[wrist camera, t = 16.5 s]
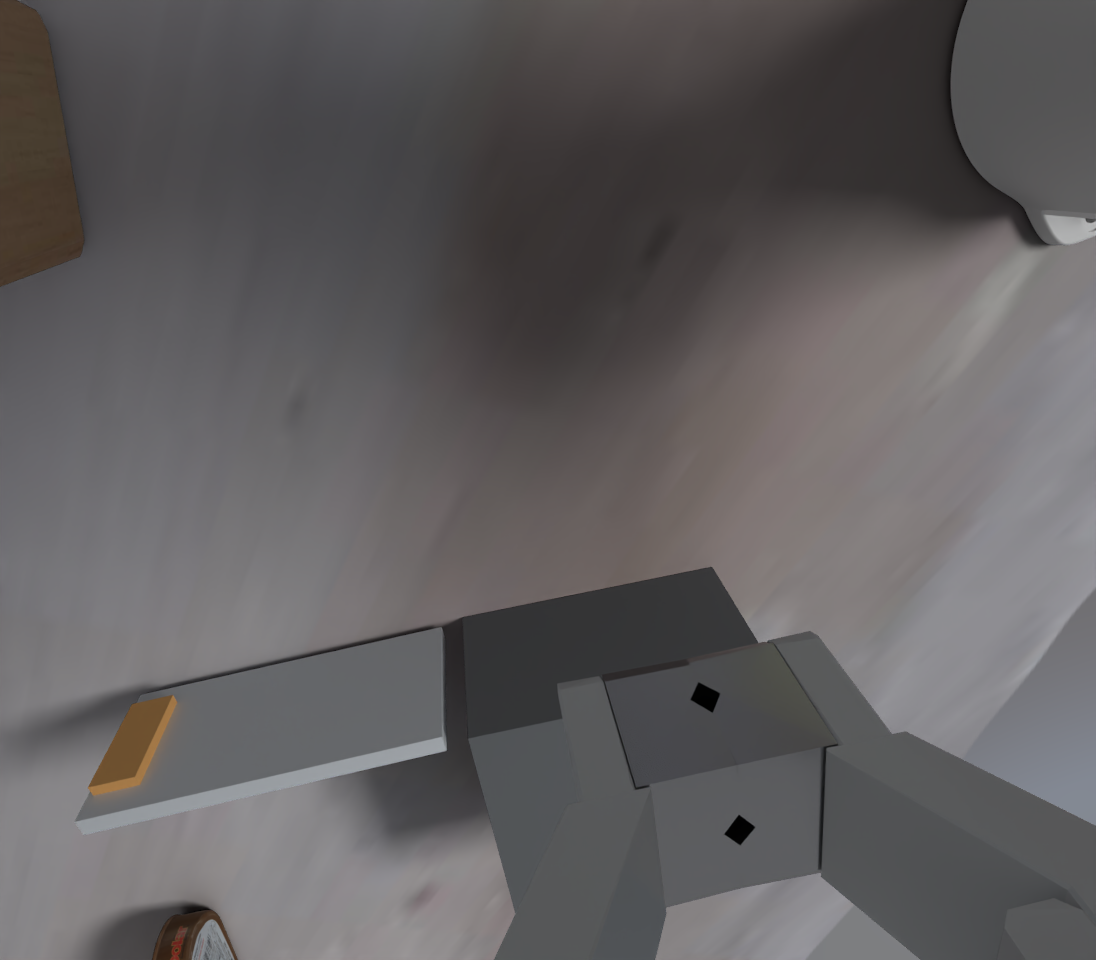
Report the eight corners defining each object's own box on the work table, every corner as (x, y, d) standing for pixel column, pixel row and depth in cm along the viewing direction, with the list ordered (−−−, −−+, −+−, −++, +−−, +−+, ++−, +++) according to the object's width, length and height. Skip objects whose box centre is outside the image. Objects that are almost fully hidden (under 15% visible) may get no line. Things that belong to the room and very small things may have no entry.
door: (445, 639, 45) (446, 750, 37) (147, 707, 45) (83, 835, 37) (439, 619, 45) (439, 728, 37) (136, 687, 44) (68, 813, 36)
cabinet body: (712, 567, 46) (777, 673, 37) (722, 759, 54) (778, 885, 45) (462, 617, 45) (468, 738, 37) (509, 805, 53) (523, 942, 44)
